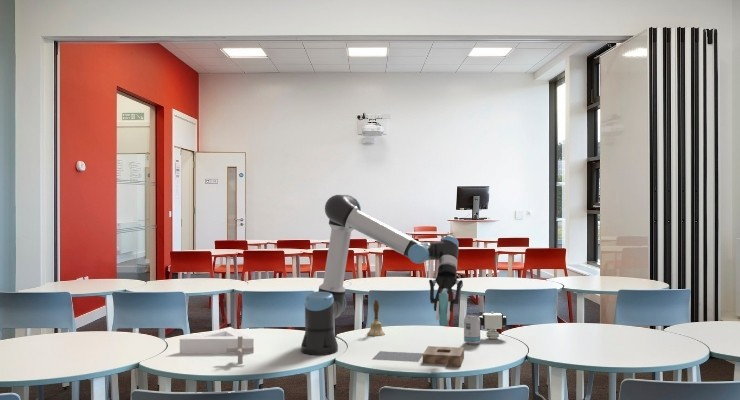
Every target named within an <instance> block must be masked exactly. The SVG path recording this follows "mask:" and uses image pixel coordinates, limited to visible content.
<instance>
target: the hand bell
mask: <svg viewBox="0 0 740 400" xmlns="http://www.w3.org/2000/svg"><path fill="white" fill-rule="evenodd" d="M372 309H373V312H374V318H373V319H374V320H373V321H371V322H370V324H371V325H370V328H369V331H367V333H366V334H367V336H371V337H381V336H382V337H383V336H385V335H386V332H385V331H383V328H382V323H381V322H380V321H379V310H380V303H379V300H378V299H375V300H374V303H373V307H372Z"/></svg>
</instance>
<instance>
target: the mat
mask: <svg viewBox="0 0 740 400" xmlns="http://www.w3.org/2000/svg"><path fill="white" fill-rule="evenodd" d="M423 353H424V352H423ZM423 353H422V352H404V351H387V350H386V351H383V350H382V351H381V350H380V351H378V353H377V354H375V356H373V358H371V360H374V361H375V360H377V361H393V362H394V361H396V362H414V363H419V362H420V360H421V358H423Z"/></svg>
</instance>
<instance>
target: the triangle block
mask: <svg viewBox="0 0 740 400" xmlns="http://www.w3.org/2000/svg"><path fill="white" fill-rule="evenodd" d="M238 336H243V345H244V347H254V343H255V342H254V338H253V337H251V336H249V335H247V334H245V333H243V332H241V331H240V330H237V329H236V328H233V327H231V326H228V327H224V328H220V329H215V330H212V331H208V332H207V331H206V332H204V333H199V334H195V335H191V336H187V337H183V338H179V354H236V352H227V347H238ZM254 348H255V347H254ZM254 352H255V351H254ZM254 352H243V354H254Z"/></svg>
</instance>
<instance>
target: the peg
mask: <svg viewBox="0 0 740 400" xmlns="http://www.w3.org/2000/svg"><path fill="white" fill-rule="evenodd" d="M448 302H449V292H442V293H439V319H438V320H439V321H438V323H439V326H440V327H441V326H442V327H448V326H449V321H450V319H449V320H447V308H448Z"/></svg>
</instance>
